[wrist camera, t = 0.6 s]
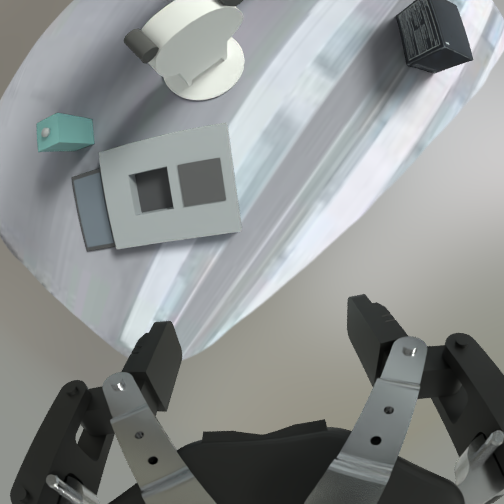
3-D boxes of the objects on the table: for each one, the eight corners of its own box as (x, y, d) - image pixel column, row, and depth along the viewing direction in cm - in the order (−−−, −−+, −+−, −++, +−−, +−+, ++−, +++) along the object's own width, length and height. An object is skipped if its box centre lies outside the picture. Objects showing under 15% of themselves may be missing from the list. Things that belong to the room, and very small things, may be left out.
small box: (436, 75, 30) (476, 62, 20) (406, 66, 30) (443, 47, 20) (425, 24, 27) (458, 4, 17) (394, 14, 27) (425, -11, 17)
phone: (90, 249, 39) (86, 251, 38) (74, 176, 36) (71, 177, 35) (119, 244, 39) (116, 246, 38) (104, 167, 36) (101, 167, 34)
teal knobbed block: (72, 127, 33) (33, 123, 24) (92, 119, 33) (54, 112, 23) (74, 151, 34) (35, 152, 25) (94, 143, 34) (56, 142, 25)
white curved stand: (214, 16, 28) (199, -43, 14) (265, 64, 31) (274, 12, 17) (148, 65, 30) (100, 25, 16) (194, 116, 33) (160, 89, 19)
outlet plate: (106, 152, 34) (97, 152, 32) (227, 125, 34) (225, 122, 31) (123, 244, 39) (116, 249, 36) (241, 227, 38) (241, 232, 35)
